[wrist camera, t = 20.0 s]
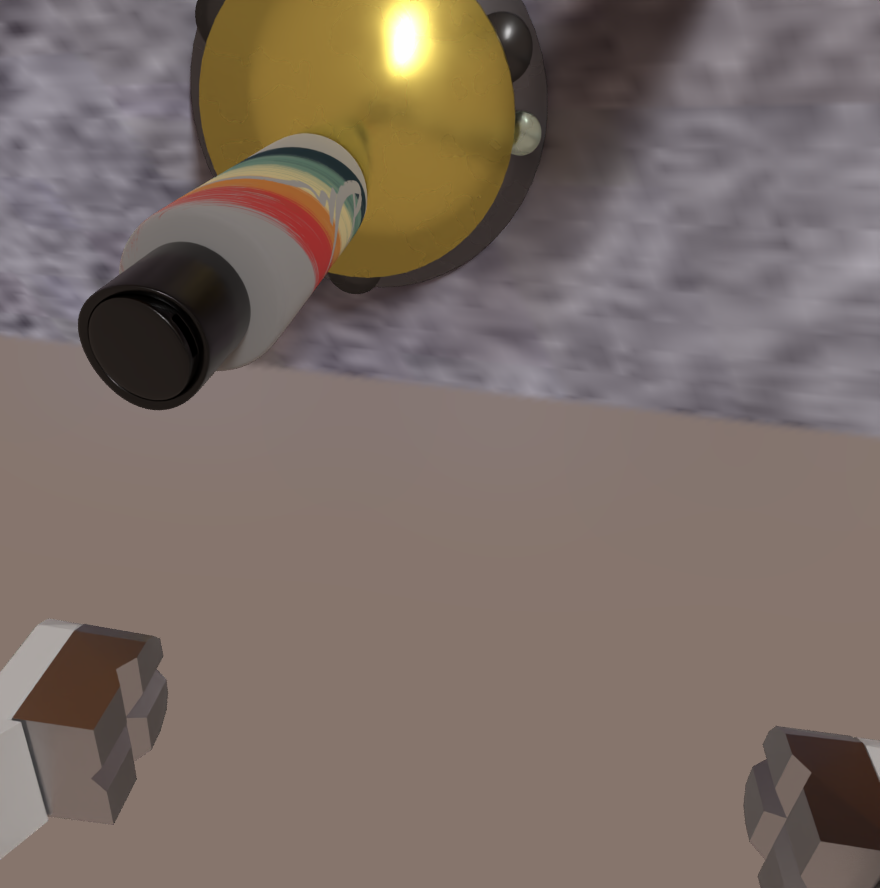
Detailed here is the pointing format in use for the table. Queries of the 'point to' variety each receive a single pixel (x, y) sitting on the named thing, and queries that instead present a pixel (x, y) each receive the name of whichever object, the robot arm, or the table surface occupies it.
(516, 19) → the levelling base
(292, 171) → the lotion bottle
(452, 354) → the table surface
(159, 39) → the table surface
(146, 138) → the table surface
